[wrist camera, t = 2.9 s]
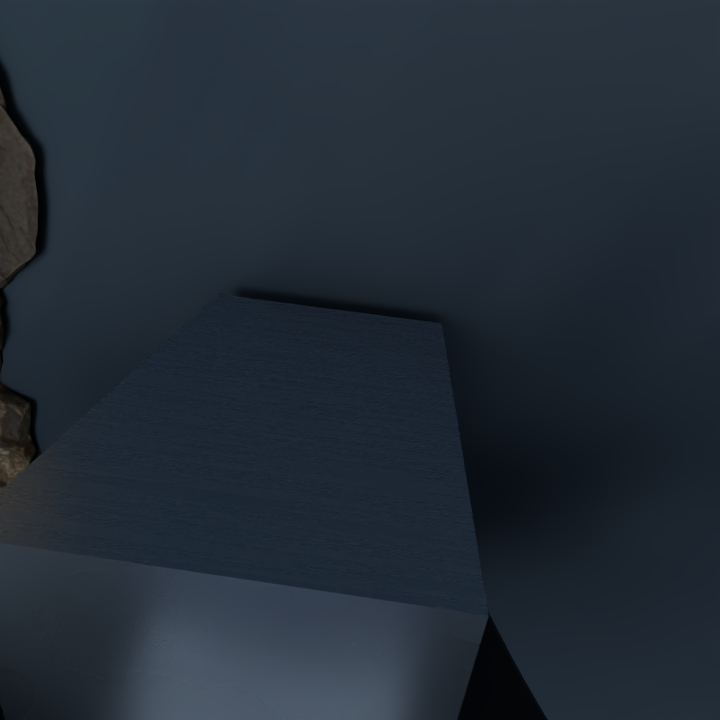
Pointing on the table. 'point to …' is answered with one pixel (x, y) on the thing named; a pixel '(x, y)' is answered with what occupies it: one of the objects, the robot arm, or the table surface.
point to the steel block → (250, 532)
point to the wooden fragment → (3, 261)
